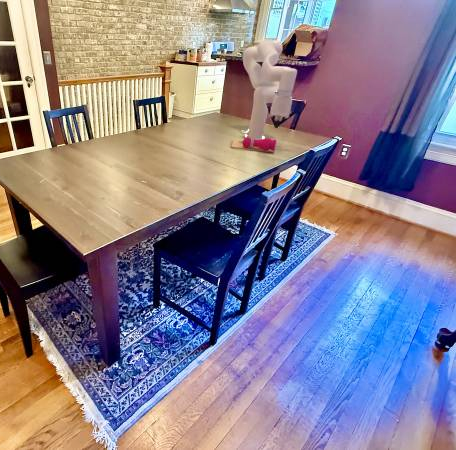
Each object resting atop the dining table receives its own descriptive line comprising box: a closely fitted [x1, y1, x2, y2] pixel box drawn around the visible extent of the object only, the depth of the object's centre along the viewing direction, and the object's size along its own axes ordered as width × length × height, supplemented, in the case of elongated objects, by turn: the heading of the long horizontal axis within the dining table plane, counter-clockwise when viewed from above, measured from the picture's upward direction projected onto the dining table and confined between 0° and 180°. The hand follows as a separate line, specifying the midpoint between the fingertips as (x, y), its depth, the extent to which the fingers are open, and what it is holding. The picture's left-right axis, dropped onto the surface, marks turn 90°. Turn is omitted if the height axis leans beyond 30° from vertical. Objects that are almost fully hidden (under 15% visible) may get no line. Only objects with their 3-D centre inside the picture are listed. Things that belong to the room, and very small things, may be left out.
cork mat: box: [231, 139, 274, 154], centre depth 185 cm, size 24×14×1 cm, turn 73°
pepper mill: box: [239, 137, 277, 152], centre depth 178 cm, size 7×7×20 cm
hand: (276, 127), depth 176 cm, fingers closed
